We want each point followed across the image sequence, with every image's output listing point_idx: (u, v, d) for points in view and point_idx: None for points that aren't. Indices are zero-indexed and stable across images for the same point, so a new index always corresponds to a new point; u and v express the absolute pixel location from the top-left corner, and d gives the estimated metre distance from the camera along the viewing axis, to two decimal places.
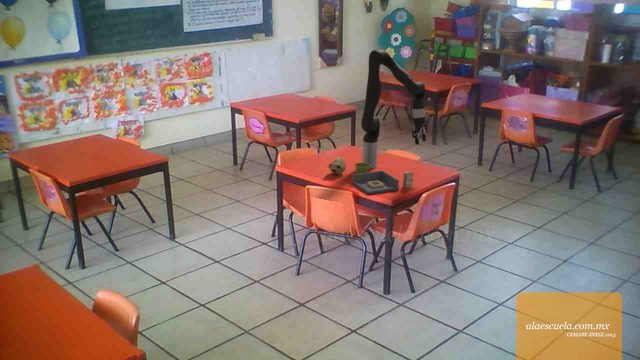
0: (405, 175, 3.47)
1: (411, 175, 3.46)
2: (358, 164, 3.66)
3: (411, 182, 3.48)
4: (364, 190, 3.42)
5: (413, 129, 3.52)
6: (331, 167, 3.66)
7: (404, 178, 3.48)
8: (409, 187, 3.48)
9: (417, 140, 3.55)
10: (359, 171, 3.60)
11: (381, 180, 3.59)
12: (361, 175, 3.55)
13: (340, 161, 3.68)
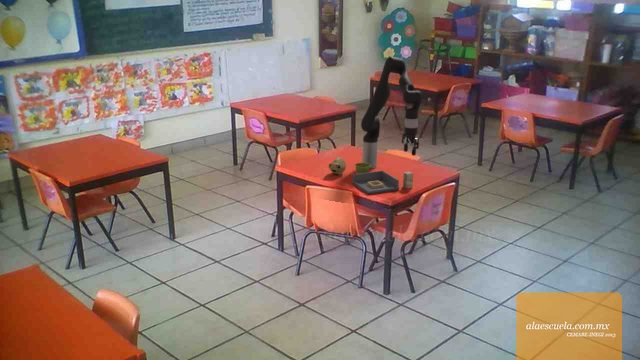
0: (405, 175, 3.47)
1: (411, 175, 3.46)
2: (358, 164, 3.66)
3: (411, 182, 3.48)
4: (364, 190, 3.42)
5: None
6: (331, 167, 3.66)
7: (404, 178, 3.48)
8: (409, 187, 3.48)
9: (404, 147, 3.46)
10: (359, 171, 3.60)
11: (381, 180, 3.59)
12: (361, 175, 3.55)
13: (340, 161, 3.68)
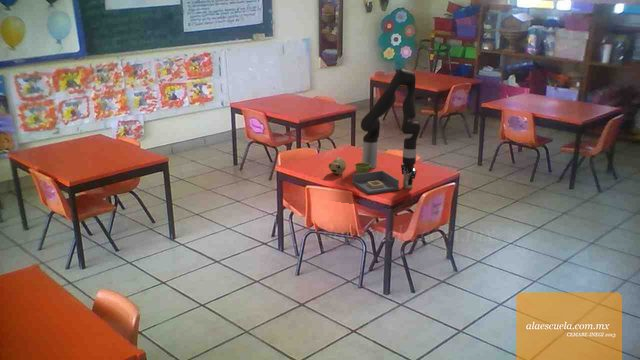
0: (405, 175, 3.46)
1: None
2: (358, 164, 3.66)
3: None
4: (364, 190, 3.42)
5: None
6: (331, 167, 3.66)
7: (404, 178, 3.48)
8: (409, 187, 3.48)
9: None
10: (359, 171, 3.60)
11: (381, 180, 3.59)
12: (361, 175, 3.55)
13: (340, 161, 3.68)
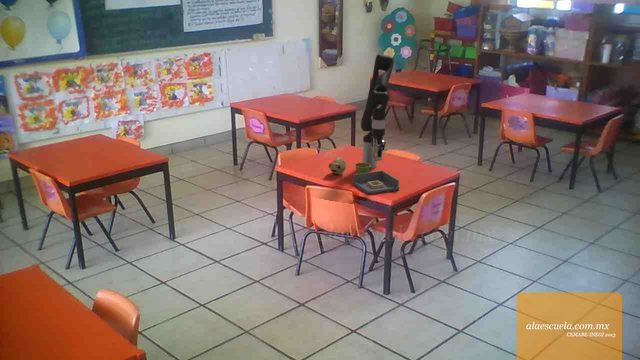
0: (374, 147, 3.42)
1: None
2: (358, 164, 3.66)
3: (381, 154, 3.43)
4: (364, 190, 3.42)
5: None
6: (331, 167, 3.66)
7: (373, 150, 3.43)
8: (379, 159, 3.43)
9: None
10: (359, 171, 3.60)
11: (381, 180, 3.59)
12: (361, 175, 3.55)
13: (340, 161, 3.68)
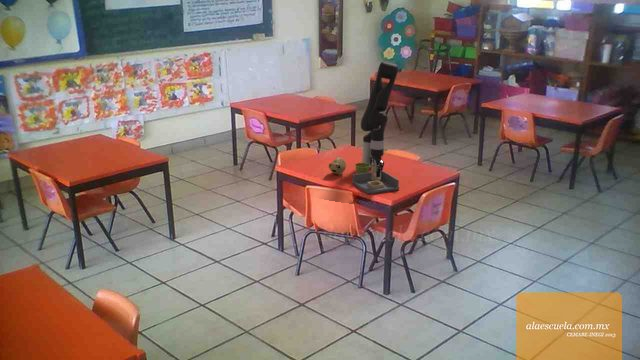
0: (373, 167, 3.45)
1: None
2: (358, 164, 3.66)
3: (380, 174, 3.47)
4: (364, 190, 3.42)
5: None
6: (331, 167, 3.66)
7: (372, 170, 3.47)
8: (377, 179, 3.47)
9: None
10: (359, 171, 3.60)
11: (381, 180, 3.59)
12: (361, 175, 3.55)
13: (340, 161, 3.68)
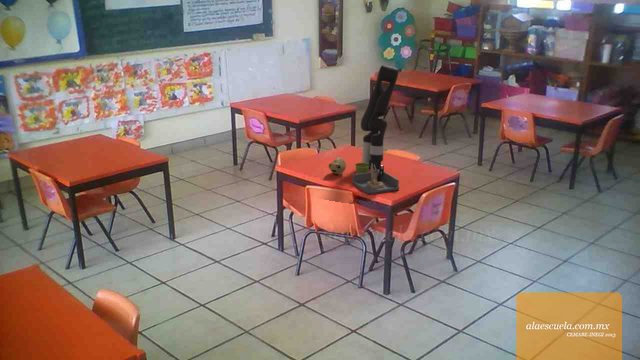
0: (373, 173, 3.47)
1: None
2: (358, 164, 3.66)
3: None
4: (364, 190, 3.42)
5: None
6: (331, 167, 3.66)
7: (372, 176, 3.48)
8: None
9: None
10: (359, 171, 3.60)
11: (381, 180, 3.59)
12: (361, 175, 3.55)
13: (340, 161, 3.68)
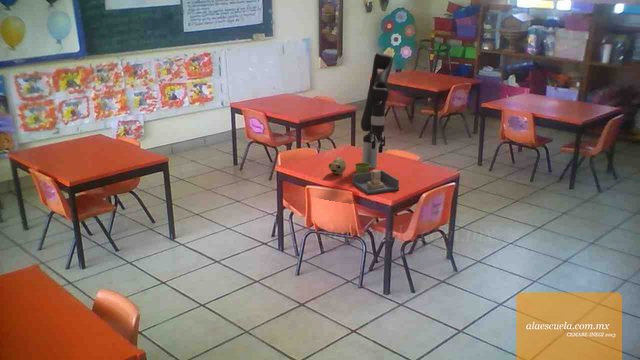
0: (373, 173, 3.47)
1: (379, 173, 3.46)
2: (358, 164, 3.66)
3: (379, 180, 3.48)
4: (364, 190, 3.42)
5: None
6: (331, 167, 3.66)
7: (372, 176, 3.48)
8: None
9: None
10: (359, 171, 3.60)
11: (381, 180, 3.59)
12: (361, 175, 3.55)
13: (340, 161, 3.68)
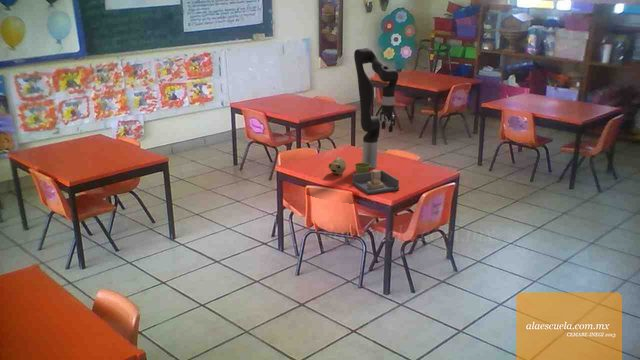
0: (373, 173, 3.47)
1: (379, 173, 3.46)
2: (358, 164, 3.66)
3: (379, 180, 3.48)
4: (364, 190, 3.42)
5: None
6: (331, 167, 3.66)
7: (372, 176, 3.48)
8: None
9: None
10: (359, 171, 3.60)
11: (381, 180, 3.59)
12: (361, 175, 3.55)
13: (340, 161, 3.68)
